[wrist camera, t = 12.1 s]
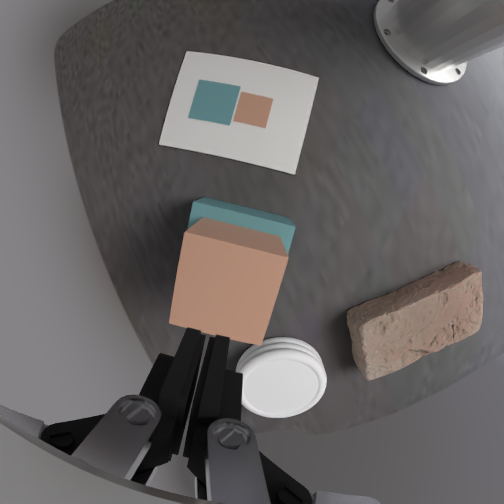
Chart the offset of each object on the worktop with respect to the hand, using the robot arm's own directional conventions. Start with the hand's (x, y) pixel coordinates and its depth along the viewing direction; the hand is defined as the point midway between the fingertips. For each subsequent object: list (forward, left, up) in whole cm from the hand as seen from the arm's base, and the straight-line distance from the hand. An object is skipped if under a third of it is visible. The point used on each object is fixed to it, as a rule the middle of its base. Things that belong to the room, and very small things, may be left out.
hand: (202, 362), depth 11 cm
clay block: (0, 0, -13) cm, 13 cm away
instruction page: (-13, -3, -18) cm, 22 cm away
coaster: (+13, +8, -18) cm, 23 cm away
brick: (+2, +22, -18) cm, 28 cm away
